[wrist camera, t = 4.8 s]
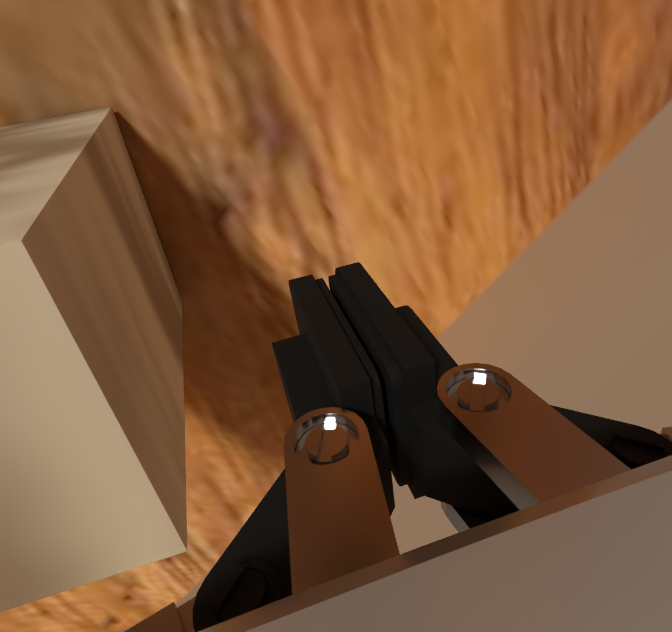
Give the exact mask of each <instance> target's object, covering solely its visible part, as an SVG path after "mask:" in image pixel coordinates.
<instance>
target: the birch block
mask: <svg viewBox="0 0 672 632" xmlns="http://www.w3.org/2000/svg"><path fill="white" fill-rule="evenodd" d="M186 551H187V518H186V469H185V421H184V373H183V324H182V300H181V298H180V295H179V292H178V289H177V287H176V284H175V281H174V278H173V276H172V273H171V270H170V267H169V264H168V262H167V259H166V256H165V253H164V251H163V248H162V245H161V242H160V240H159V237H158V234H157V231H156V228H155V226H154V223H153V220H152V217H151V215H150V212H149V209H148V206H147V204H146V201H145V198H144V195H143V192H142V190H141V187H140V184H139V181H138V179H137V176H136V173H135V170H134V168H133V165H132V162H131V159H130V156H129V154H128V151H127V148H126V145H125V143H124V140H123V137H122V134H121V132H120V129H119V126H118V123H117V121H116V118H115V115H114V112H113V109H112V107H109V108H103V109H98V110H92V111H87V112H81V113H76V114H70V115H65V116H59V117H54V118H48V119H43V120H37V121H32V122H26V123H21V124H15V125H10V126H4V127H0V612H2V611H5V610H9V609H12V608H15V607H18V606H21V605H24V604H27V603H30V602H33V601H36V600H39V599H42V598H45V597H48V596H51V595H54V594H57V593H60V592H64V591H67V590H70V589H73V588H76V587H79V586H82V585H85V584H88V583H91V582H94V581H97V580H100V579H103V578H106V577H109V576H112V575H115V574H119V573H122V572H125V571H128V570H131V569H134V568H137V567H140V566H143V565H146V564H149V563H152V562H155V561H158V560H161V559H164V558H167V557H170V556H174V555H177V554H180V553H183V552H186Z"/></svg>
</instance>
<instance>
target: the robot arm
mask: <svg viewBox="0 0 672 632" xmlns="http://www.w3.org/2000/svg"><path fill="white" fill-rule="evenodd" d="M335 274H336V275H332V276H329V286H330V290H329V288H328V287H327V285H326V283H325V281H324V280H323V278H320V279H317V280H315V279H314V277H313V275H308V276H304V277H300V278H296V279H292V280H289V287H290V292H291V296H292V301H293V306H294V310H295V315H296V319H297V324H298V328H299V333H300V335H298V336H295V337H291V338H288V339H284V340H281V341H277V342H273V343H272V345H273V349H274V353H275V357H276V361H277V365H278V368H279V372H280V376H281V379H282V383H283V387H284V390H285V394H286V397H287V401H288V404H289V407H290V411H291V414H292V417H293V420H294V423H293V424H292V425H291V426H290V428H289V430H288V432H287V433H286V435H285V441H284V459H285V469H284V470H283V472H282V473H281V475H280V476H279V477H278V479H277V480H276V481H275V483H274V484H273V486H272V487H271V488H270V490H269V491H268V492H267V494H266V495H265V497H264V498H263V499H262V501H261V502H260V503H259V505H258V506H257V508H256V509H255V510H254V512H253V513H252V515H251V516H250V517H249V519H248V520H247V521H246V523H245V524H244V526H243V527H242V528H241V530H240V531H239V532H238V534H237V535H236V537H235V538H234V539H233V541H232V542H231V543H230V545H229V546H228V548H227V549H226V550H225V552H224V553H223V555H222V556H221V557H220V559H219V560H218V561H217V563H216V564H215V566H214V567H213V568H212V570H211V571H210V572H209V574H208V575H207V577H206V578H205V580H204V581H203V583H202V585H201V587H200V589H199V591H198V592H197V595H196V597H194V598H193V599H191V600H189V601H188V602H186V603H184V604H183V605H181V606H179V607H178V608H177V606H176V604H175V603H174V602H173V603H171V604H170V605H168V606H166V607H165V608H163V609H161V610H160V611H158V612H156V613H155V614H153V615H151V616H150V617H148V618H146V619H145V620H143V621H141V622H140V623H138V624H136V625H135V626H133V627H131V628H130V629H128V630H126V631H125V632H672V427H665V428H662V431H661V434H658V433H656V432H654V431H652V430H649V429H646V428H643V427H640V426H636V425H632V424H628V423H623V422H619V421H615V420H611V419H606V418H603V417H598V416H594V415H590V414H585V413H581V412H577V411H573V410H568V409H564V408H560V407H556V406H552V405H549V404H547V403H546V402H545V401H544V400H543V399H541V398H540V397H539V396H537V395H536V394H535V393H534V392H532V391H531V390H530V389H529V388H527V387H526V386H525V385H523V384H522V383H521V382H520V381H518V380H517V379H516V378H515V377H513V376H512V375H511V374H509V373H508V372H506V371H504V370H503V369H501V368H498V367H495V366H492V365H489V364H480V363H472V364H463V365H460V366H458V365H457V363H456V362H455V361H454V360H453V359H452V358H451V356H450V355H449V354H448V353H447V351H446V350H445V349H444V348H443V347H442V345H441V344H440V343H439V342H438V340H437V339H436V338H435V337H434V336H433V334H432V333H431V332H430V331H429V330H428V328H427V327H426V326H425V325H424V323H423V322H422V321H421V320H420V319H419V317H418V316H417V315H416V314H415V313H414V311H413V310H412V309H411V308H410V307H409V306H406V305H405V306H402V307H398V308H394V306H393V305H392V304H391V303H390V301H389V300H388V299H387V297H386V296H385V295H384V293H383V292H382V291H381V290H380V288H379V287H378V286H377V284H376V283H375V282H374V280H373V279H372V278H371V277H370V275H369V274H368V273H367V271H366V270H365V269H364V267H363V266H362V265H361V264H360V263H359V262H357V263H353V264H350V265H346V266H342V267H338V268H336V269H335ZM391 471H392V473H393V475H394V477H395V480H396V482H397V483H398V484H399V486H403V485H406V484H407V485H408V486H409V488H410V490H411V492H412V494H413V496H414V498H415V499H416V498H419V497H422V496H427V497H430V498H433V499H435V500H438V501H441V506H442V509H443V511H444V513H445V515H446V516H447V518H448V519H449V520H450V522H451V523H452V524H453V526H454V527H455V528H456V529H457V531H458V532H459V533H457V534H454V535H452V536H449V537H446V538H444V539H441V540H438V541H436V542H433V543H430V544H427V545H425V546H422V547H419V548H417V549H414V550H411V551H409V552H406V553H403V554H401V555H400V554H399V550H398V546H397V542H396V538H395V534H394V530H393V526H392V522H391V518H390V516H391V514H392V512H393V510H394V508H395V503H394V494H393V483H392V475H391Z"/></svg>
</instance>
